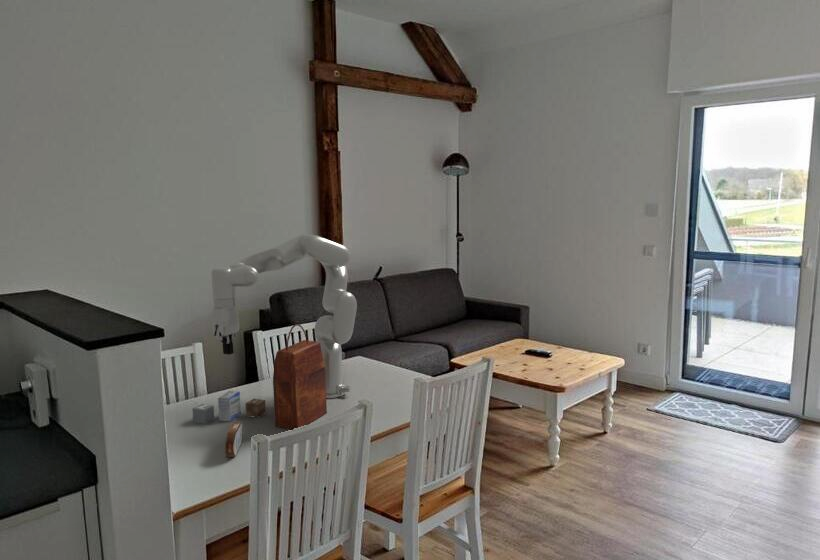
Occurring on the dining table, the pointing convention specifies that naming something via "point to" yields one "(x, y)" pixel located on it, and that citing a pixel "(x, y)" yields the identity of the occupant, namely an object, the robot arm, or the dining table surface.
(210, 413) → the slate-grey block
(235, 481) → the dining table surface
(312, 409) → the handbag
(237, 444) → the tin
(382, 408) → the dining table surface
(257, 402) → the walnut block
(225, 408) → the medicine box
